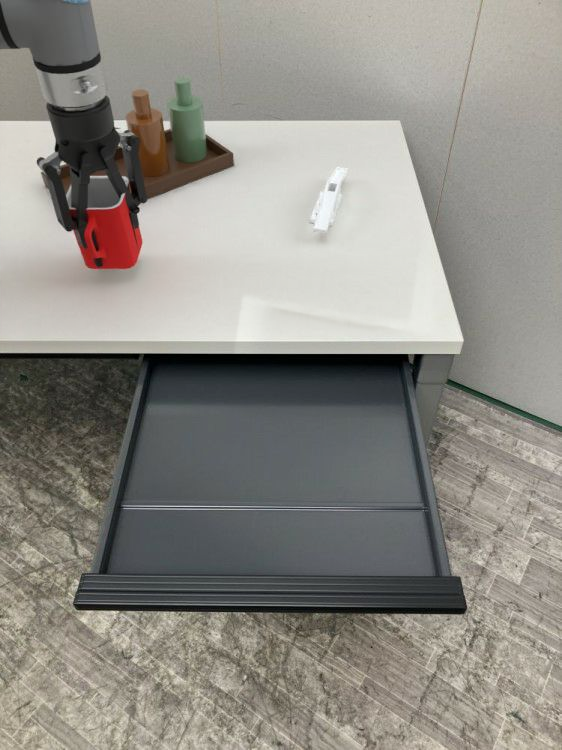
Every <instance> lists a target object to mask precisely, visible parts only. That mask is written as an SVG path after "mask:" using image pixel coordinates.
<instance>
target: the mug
mask: <svg viewBox="0 0 562 750" xmlns="http://www.w3.org/2000/svg"><path fill="white" fill-rule="evenodd" d="M122 178H123V180H124V182H125V184H126V186H127V188H128V190H129V192H130V189H129V179H128V178H127V177H125V176H122ZM130 194H131V193H130ZM66 198H67V202H68V206H69V210H70V214H71V217H73V218H75V217H74V215H75V212H76V209H75V208H72V207H71V185H70V187H69V190H68V192H67V194H66ZM85 210H86V211H87V227H86V230H85V241H86V244H87V247H88V248H87V249H84V247H83V246H82V245H81V244H80V243H79V242H78V238H77V235H76V231H75V230H72V232H73V234H74V237H75V240H76V242H77V243H76V244H77V245H78V248H79V252H80V254H81V257H82V259H83V262H84V265H85V266H86V268H87V269H92V270H128V269H131V268H133V267H135V266H136V264H138V261H139V256H140V253H141V250H142V246H143V244H144V243H143V235H142V233H141V228H140V226H139V227H138V228H137V229H135V228H134V230H135V235H136V239H135V236H134V232H133V228H132V225H131V221H130V217H129V213H130V210H129V208H128V206H127V204H126V200H125V193H123V194H122V195H121V198H119V197H118V195H117V193H116V191H115V189H114V187H113V186H112V184H111V182H110V180H109V178H108V176H90V183H89V184H88V208H87V209H85ZM75 219H76V218H75ZM133 225H134V224H133ZM93 230H94V233H95V237H96V241H97V245H98V249H99V250H98V251H96V249H95V247H94V244H93V241H92V237H91V234H92V231H93ZM136 240H137V243H136ZM137 245H138V247H137ZM138 250H139V251H138ZM94 258H101V260H102V264H103V266H101V267H99V268H98V267H97V266H96V265H95V262H94Z"/></svg>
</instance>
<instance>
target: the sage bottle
mask: <svg viewBox="0 0 562 750" xmlns="http://www.w3.org/2000/svg"><path fill="white" fill-rule="evenodd" d="M173 82H174V89H175V96H173V97H172V98H170V99H169V100H168V101H167V102H166V103H167V104H166V105H167V113H168V120H169V127H170V128H169V129H171V135H172V143H173V150H174V156H175V158H176V159H177V160H179V161H182V162H197V161H200V160H202V159H204V158H205V157H206V156H207V146H206V135H207V134H206V124H205V116H204V105H203V104H204V103H203V100H202V99H201V98H200V97H199V96H195V95H192V94H193V93H192V84H191V78H189V77H188V76H187V77H186V76H180V77H176V78H174V80H173ZM205 134H206V135H205Z"/></svg>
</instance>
